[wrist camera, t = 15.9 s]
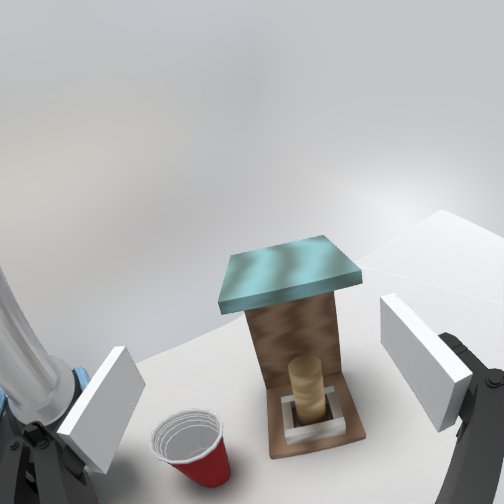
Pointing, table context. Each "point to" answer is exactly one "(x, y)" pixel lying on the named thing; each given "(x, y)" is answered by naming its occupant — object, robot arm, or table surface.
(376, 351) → the table surface
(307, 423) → the peg
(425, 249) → the table surface
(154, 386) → the table surface
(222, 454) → the plastic cup
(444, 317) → the table surface
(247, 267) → the awning stand
